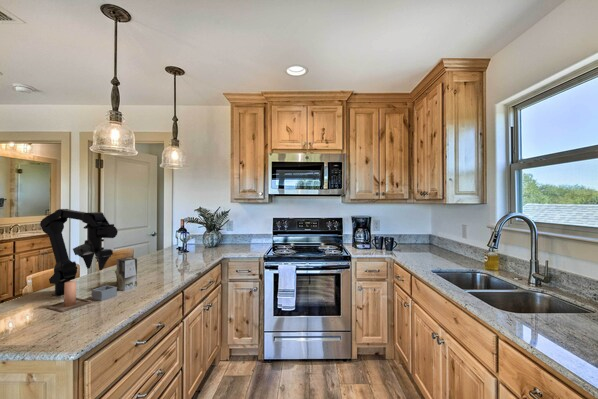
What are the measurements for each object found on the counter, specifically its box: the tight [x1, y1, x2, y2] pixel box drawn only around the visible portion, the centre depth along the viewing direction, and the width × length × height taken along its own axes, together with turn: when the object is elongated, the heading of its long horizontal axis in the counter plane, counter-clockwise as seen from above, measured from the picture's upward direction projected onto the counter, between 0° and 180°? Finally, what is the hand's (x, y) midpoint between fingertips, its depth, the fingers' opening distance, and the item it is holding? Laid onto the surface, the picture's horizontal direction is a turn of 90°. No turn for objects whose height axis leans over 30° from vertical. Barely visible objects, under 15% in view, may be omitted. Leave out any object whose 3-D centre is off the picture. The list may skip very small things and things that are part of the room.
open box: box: [91, 285, 118, 302], centre depth 128 cm, size 7×7×5 cm
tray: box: [46, 297, 93, 313], centre depth 118 cm, size 11×11×1 cm
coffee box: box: [116, 256, 138, 292], centre depth 143 cm, size 9×6×16 cm
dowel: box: [63, 280, 77, 307], centre depth 118 cm, size 4×4×10 cm
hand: (94, 269), depth 132 cm, fingers open, 9 cm apart
